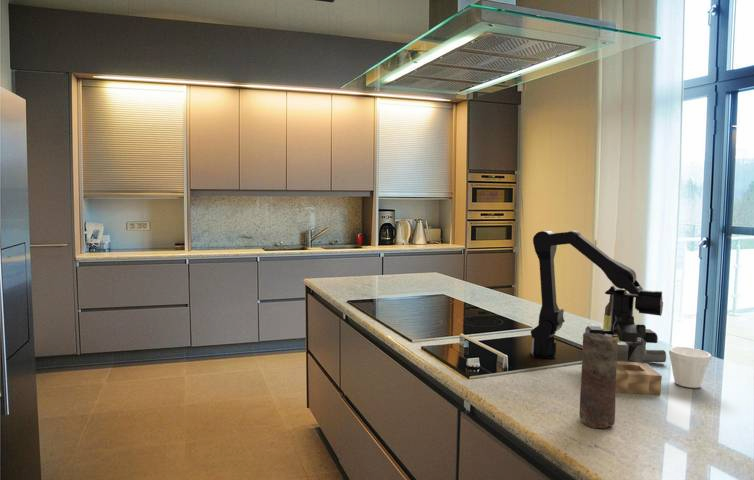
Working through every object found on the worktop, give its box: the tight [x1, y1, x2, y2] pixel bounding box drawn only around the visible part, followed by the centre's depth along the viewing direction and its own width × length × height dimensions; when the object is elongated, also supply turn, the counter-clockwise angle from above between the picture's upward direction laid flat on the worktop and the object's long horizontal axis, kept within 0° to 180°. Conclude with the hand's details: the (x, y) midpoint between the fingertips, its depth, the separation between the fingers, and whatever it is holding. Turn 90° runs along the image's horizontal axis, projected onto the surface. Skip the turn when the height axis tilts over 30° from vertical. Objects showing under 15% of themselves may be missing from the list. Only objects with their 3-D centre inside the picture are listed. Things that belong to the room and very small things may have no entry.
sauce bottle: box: [602, 287, 624, 342], centre depth 185 cm, size 6×6×20 cm
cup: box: [668, 346, 712, 389], centre depth 147 cm, size 10×10×9 cm
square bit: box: [617, 342, 629, 362], centre depth 159 cm, size 4×4×8 cm
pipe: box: [625, 339, 667, 363], centre depth 168 cm, size 6×13×8 cm, turn 78°
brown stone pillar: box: [579, 332, 618, 429], centre depth 120 cm, size 8×7×20 cm
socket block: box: [616, 361, 663, 396], centre depth 145 cm, size 11×11×5 cm
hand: (618, 363), depth 159 cm, fingers closed on square bit, 4 cm apart
